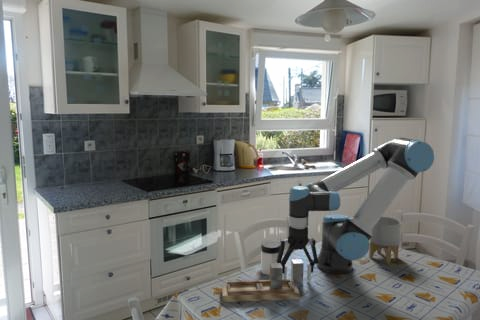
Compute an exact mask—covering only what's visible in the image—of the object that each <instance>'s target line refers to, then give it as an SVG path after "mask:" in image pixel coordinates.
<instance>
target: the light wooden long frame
mask: <svg viewBox="0 0 480 320" xmlns="http://www.w3.org/2000/svg"><path fill="white" fill-rule="evenodd" d="M300 295H301V294H300V291H299V289H298V286H297V285H296V284H295V283H292V282H291V278H287V279H283V267H282V265H281V263H270V275H269V279H254V280H253V279H252V280H247V279H246V280H227V283H226V284H221V298H222V303H234V302H235V303H237V302H242V303H243V302H264V301H265V302H266V301H268V302H269V301H294V300H295V301H297V300H298V301H299V300H300Z"/></svg>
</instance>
